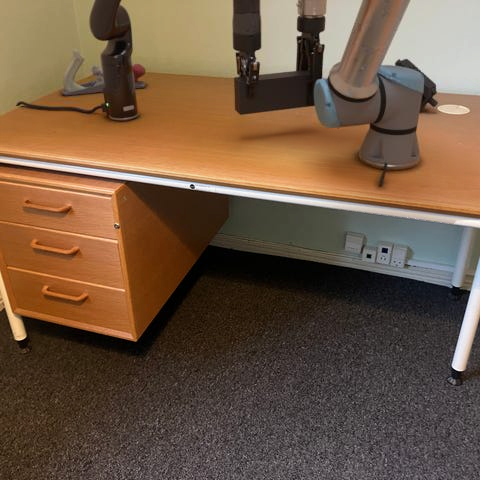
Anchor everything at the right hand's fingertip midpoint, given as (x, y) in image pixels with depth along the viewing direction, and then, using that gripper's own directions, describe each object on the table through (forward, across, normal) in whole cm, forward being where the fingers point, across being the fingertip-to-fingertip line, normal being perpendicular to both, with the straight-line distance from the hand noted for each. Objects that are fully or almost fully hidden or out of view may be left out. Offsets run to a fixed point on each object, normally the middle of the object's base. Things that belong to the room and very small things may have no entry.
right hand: (307, 101), depth 153 cm
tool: (+9, -9, +39) cm, 41 cm away
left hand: (-4, 0, -18) cm, 18 cm away
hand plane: (+9, -66, -52) cm, 84 cm away
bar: (+1, 0, -9) cm, 9 cm away
